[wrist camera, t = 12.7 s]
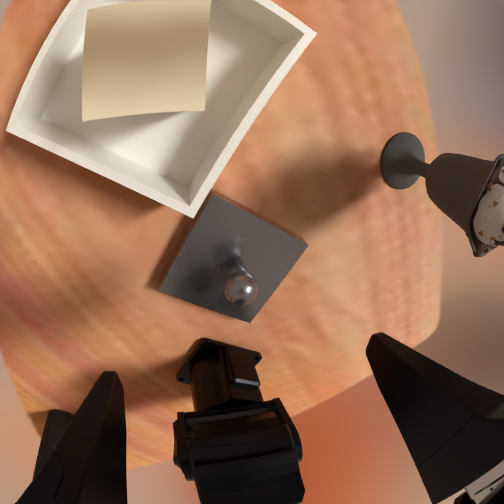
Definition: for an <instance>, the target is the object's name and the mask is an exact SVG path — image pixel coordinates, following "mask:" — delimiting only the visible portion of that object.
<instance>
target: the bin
mask: <svg viewBox="0 0 504 504" xmlns="http://www.w3.org/2000/svg"><path fill="white" fill-rule="evenodd" d="M134 1H143V0H71V1H70V2H69V4H68V5H67V6H66V8H65V9H64V11H63V12H62V14H61V15H60V17H59V19H58V20H57V22H56V23H55V25H54V27H53V28H52V30H51V32H50V33H49V35H48V37H47V38H46V40H45V42H44V44H43V46H42V47H41V49H40V51H39V53H38V55H37V57H36V59H35V61H34V63H33V65H32V67H31V69H30V71H29V73H28V75H27V78H26V80H25V82H24V84H23V87H22V89H21V91H20V94H19V96H18V99H17V101H16V104H15V106H14V109H13V112H12V114H11V117H10V120H9V123H8V126H7V129H6V131H7V132H9V133H12V134H14V135H16V136H18V137H20V138H22V139H25V140H27V141H29V142H31V143H33V144H35V145H38V146H40V147H42V148H44V149H46V150H48V151H51V152H53V153H55V154H57V155H59V156H61V157H63V158H66V159H68V160H70V161H72V162H74V163H76V164H78V165H81V166H83V167H85V168H87V169H89V170H91V171H93V172H96V173H98V174H100V175H102V176H104V177H106V178H108V179H111V180H113V181H115V182H117V183H119V184H121V185H123V186H125V187H128V188H130V189H132V190H134V191H136V192H138V193H140V194H142V195H145V196H147V197H149V198H151V199H153V200H155V201H157V202H159V203H162V204H164V205H166V206H168V207H170V208H172V209H174V210H176V211H178V212H181V213H183V214H185V215H187V216H189V217H191V218H194V217H195V215H196V213H197V211H198V210H199V208H200V206H201V205H202V203H203V201H204V200H205V198H206V196H207V194H208V193H209V191H210V189H211V188H212V186H213V184H214V183H215V181H216V180H217V178H218V176H219V175H220V173H221V171H222V170H223V168H224V167H225V165H226V163H227V162H228V160H229V159H230V157H231V155H232V154H233V152H234V151H235V149H236V148H237V146H238V144H239V143H240V141H241V140H242V138H243V137H244V135H245V134H246V132H247V131H248V129H249V128H250V126H251V125H252V123H253V122H254V120H255V119H256V117H257V116H258V114H259V113H260V111H261V110H262V108H263V107H264V105H265V104H266V102H267V101H268V99H269V98H270V97H271V95H272V94H273V92H274V91H275V89H276V88H277V87H278V85H279V84H280V82H281V81H282V80H283V78H284V77H285V75H286V74H287V73H288V71H289V70H290V69H291V67H292V66H293V64H294V63H295V62H296V60H297V59H298V58H299V56H300V55H301V54H302V52H303V51H304V50H305V48H306V47H307V46H308V44H309V43H310V42H311V41H312V39H313V38H314V37H315V35H316V34H317V33H316V32H314V31H313V30H312V29H311V28H309V27H308V26H307V25H305V24H304V23H302V22H301V21H300V20H298V19H297V18H295V17H294V16H293V15H291V14H290V13H288V12H287V11H285V10H284V9H282V8H281V7H279V6H278V5H276V4H275V3H273V2H272V1H270V0H211V8H210V21H209V35H208V51H207V69H206V93H205V111H180V112H161V113H148V114H136V115H127V116H118V117H110V118H102V119H96V120H89V121H83V122H82V66H83V49H84V36H85V26H86V18H87V10H88V9H91V8H96V7H101V6H107V5H113V4H119V3H126V2H134Z"/></svg>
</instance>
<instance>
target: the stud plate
mask: <svg viewBox="0 0 504 504" xmlns="http://www.w3.org/2000/svg"><path fill="white" fill-rule="evenodd" d="M307 247H308V244H307V243H306V242H305V240H304V239H303V238H302V237H300V236H298V235H296V234H294V233H293V232H291V231H289V230H287V229H285V228H284V227H282V226H280V225H278V224H276V223H274V222H273V221H271V220H269V219H267V218H265V217H263V216H262V215H260V214H258V213H256V212H254V211H252V210H250V209H249V208H247V207H245V206H243V205H241V204H239V203H237V202H235V201H234V200H232V199H230V198H228V197H226V196H224V195H222V194H220V193H218V192H216V191H214V190H212V189H211V190H210V191H209V193H208V195H207V196H206V198H205V200H204V201H203V203H202V205H201V206H200V208H199V210H198V212H197V213H196V215H195V217H194V219H193V220H192V222H191V224H190V225H189V227H188V229H187V231H186V233H185V234H184V236H183V238H182V240H181V242H180V243H179V245H178V247H177V249H176V251H175V252H174V254H173V256H172V258H171V260H170V262H169V263H168V265H167V267H166V269H165V271H164V273H163V275H162V277H161V279H160V280H159V291H160V292H163V293H166V294H168V295H171V296H174V297H176V298H179V299H182V300H184V301H187V302H190V303H193V304H196V305H198V306H201V307H204V308H207V309H210V310H213V311H216V312H218V313H221V314H224V315H227V316H230V317H233V318H236V319H239V320H242V321H245V322H249V323H250V322H251V321H252V320H253V318H254V317H255V316H256V315H257V313H258V312H259V311H260V309H261V308H262V307H263V306H264V304H265V303H266V302H267V300H268V299H269V298H270V296H271V295H272V294H273V292H274V291H275V290H276V288H277V287H278V286H279V285H280V283H281V282H282V281H283V279H284V278H285V277H286V275H287V274H288V272H289V271H290V270H291V268H292V267H293V266H294V264H295V263H296V262H297V260H298V259H299V258H300V256H301V255H302V254H303V252H304V251H305V249H306V248H307Z"/></svg>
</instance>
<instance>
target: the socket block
mask: <svg viewBox="0 0 504 504" xmlns="http://www.w3.org/2000/svg"><path fill="white" fill-rule="evenodd" d="M210 8H211V0H143V1H134V2H126V3H119V4H113V5H107V6H101V7H96V8H91V9H88V10H87V18H86V26H85V36H84V49H83V66H82V122H83V121H89V120H96V119H102V118H110V117H118V116H127V115H136V114H148V113H161V112H180V111H205V93H206V69H207V51H208V35H209V21H210Z"/></svg>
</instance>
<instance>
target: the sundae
mask: <svg viewBox="0 0 504 504" xmlns="http://www.w3.org/2000/svg"><path fill="white" fill-rule="evenodd" d="M382 172H383V175H384V178H385V180H386V182H387V183H388V184H389V185H390V186H392V187H393V188H396V189H405V188H408V187H410V186H411V185H413V184H414V183H415V182H416V181H417V179H418V178H419V176H422V177H424V178H425V179H426V188H427V193H428V195H429V198H430V199H431V200H432V202H433V203H434V204H435V205H436V206H437V207H438V208H439V209H440V210H441V211H442V212H443V213H445V214H446V215H447V216H448V217H449V218H451V219H452V220H453V221H454V222H455V223H456V224H458V225H459V226H460V227H461V228H462V229H463V230H464V231H465V232H466V235H467V237H468V238H469V242H470V245H471V247H472V250H473V255H474V256H475V257H482V256H484V255H486V254H487V253H488V252H490V251H491V250H493V249H494V248H496V247H497V246H499V245H501V246H504V154H501V155H499V156H498V157H497V158H496V159H495V161H488V160H483V159H479V158H475V157H471V156H466V155H462V154H452V153H444V154H441V155H440V156H438V157H437V158H436V159H434V161H433V162H432V163H431V164H427V163H425V155H424V149H423V146H422V144H421V142H420V141H419V139H418V138H417V137H416V136H415V135H413V134H411V133H407V132H405V133H400V134H397V135H396V136H394V137H393V138H392V139H391V140H390V141H389V143H388V144H387V146H386V148H385V150H384V153H383V157H382Z"/></svg>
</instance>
